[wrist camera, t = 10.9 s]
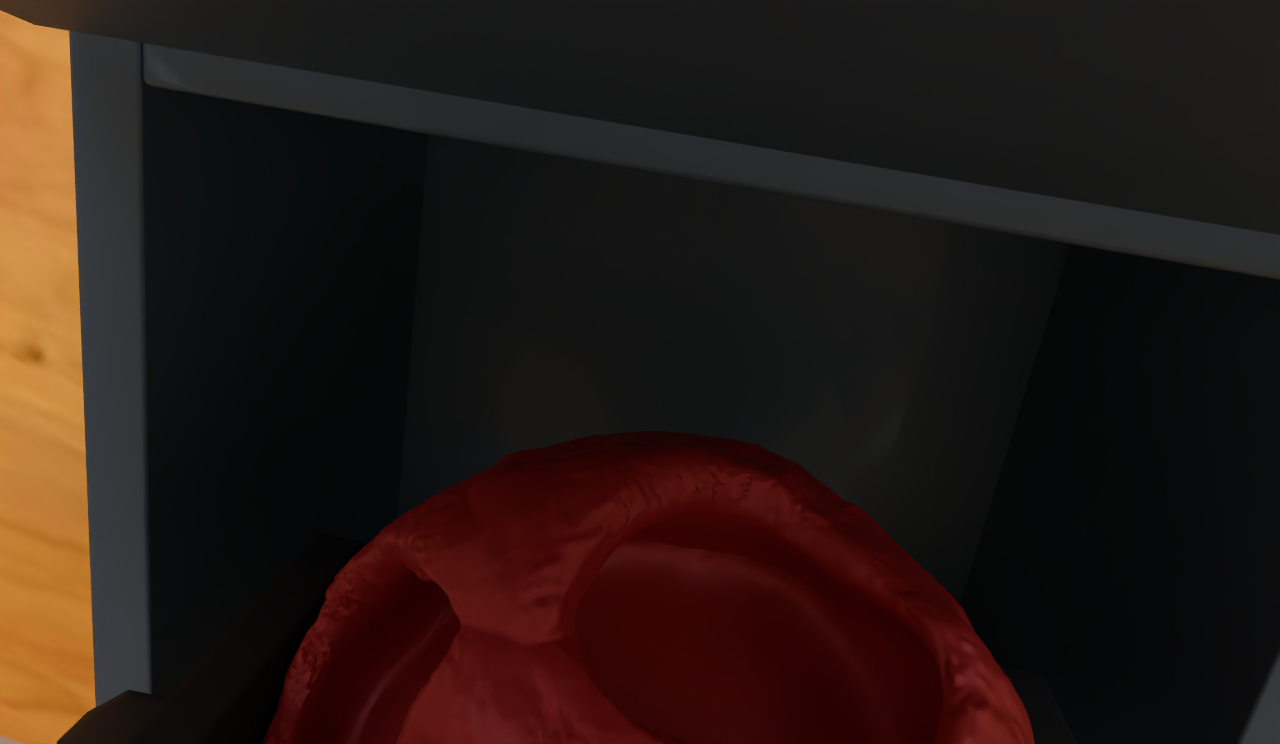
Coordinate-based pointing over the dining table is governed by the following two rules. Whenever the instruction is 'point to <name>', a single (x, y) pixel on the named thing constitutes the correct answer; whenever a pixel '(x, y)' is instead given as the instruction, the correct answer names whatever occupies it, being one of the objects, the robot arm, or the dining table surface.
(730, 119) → the lid
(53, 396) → the dining table surface
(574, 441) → the red tomato
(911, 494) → the box
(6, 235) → the dining table surface
